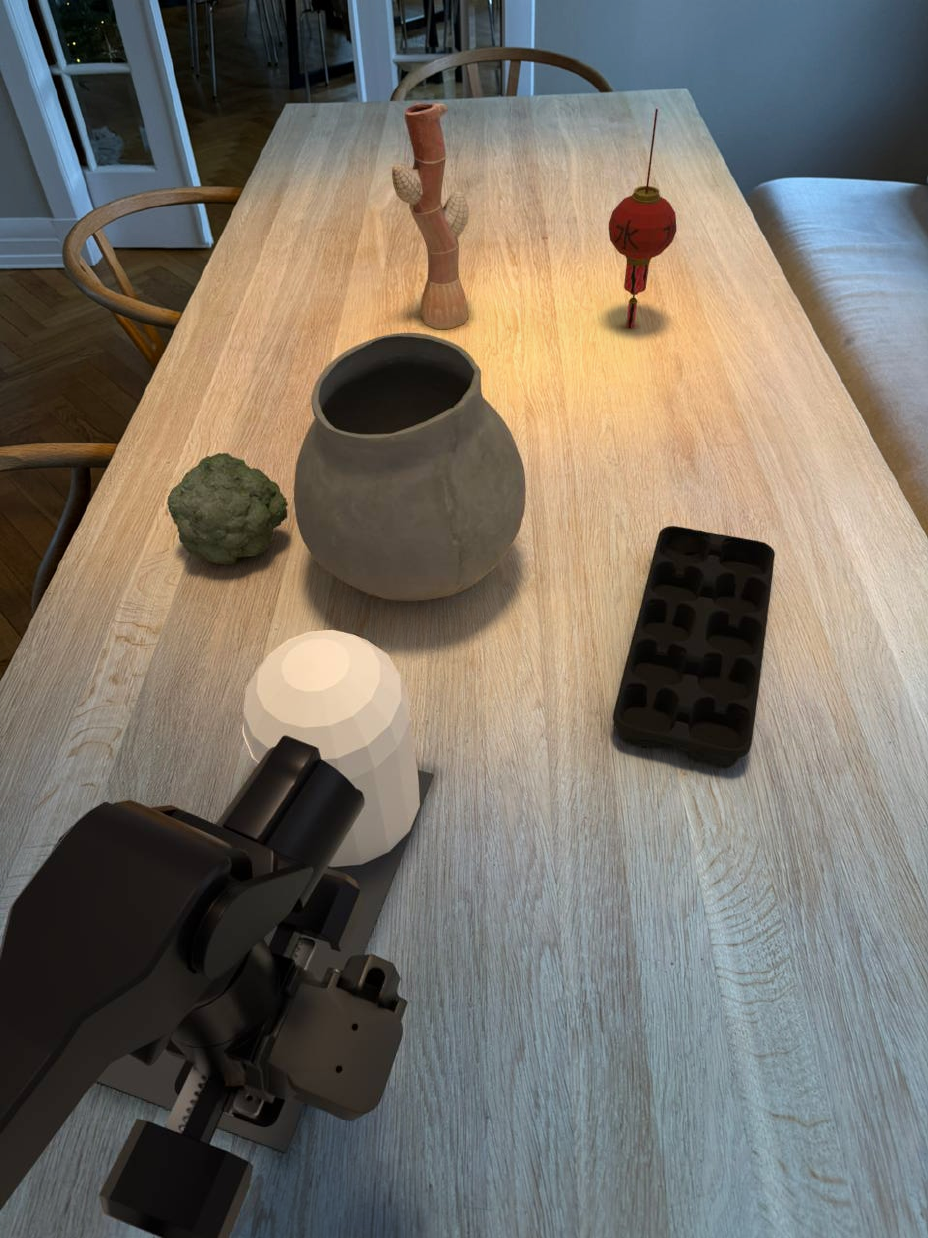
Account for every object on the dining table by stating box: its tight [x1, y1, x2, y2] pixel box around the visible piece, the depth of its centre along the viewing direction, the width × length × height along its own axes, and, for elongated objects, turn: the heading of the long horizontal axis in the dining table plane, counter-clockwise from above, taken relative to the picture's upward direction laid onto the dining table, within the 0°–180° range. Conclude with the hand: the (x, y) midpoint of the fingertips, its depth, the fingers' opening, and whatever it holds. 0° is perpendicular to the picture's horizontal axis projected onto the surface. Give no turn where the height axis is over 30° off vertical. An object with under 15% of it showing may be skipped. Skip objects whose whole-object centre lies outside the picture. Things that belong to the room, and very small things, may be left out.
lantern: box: [608, 108, 678, 330], centre depth 122 cm, size 10×10×30 cm
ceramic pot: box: [293, 332, 527, 602], centre depth 91 cm, size 24×24×25 cm
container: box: [242, 629, 420, 867], centre depth 73 cm, size 13×13×20 cm
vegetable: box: [166, 452, 289, 565], centre depth 101 cm, size 12×13×15 cm
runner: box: [95, 769, 435, 1154], centre depth 73 cm, size 32×16×1 cm, turn 162°
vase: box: [391, 102, 469, 330], centre depth 125 cm, size 10×7×30 cm
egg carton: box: [612, 525, 776, 769], centre depth 89 cm, size 18×30×4 cm, turn 174°
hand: (276, 1075), depth 53 cm, fingers closed
